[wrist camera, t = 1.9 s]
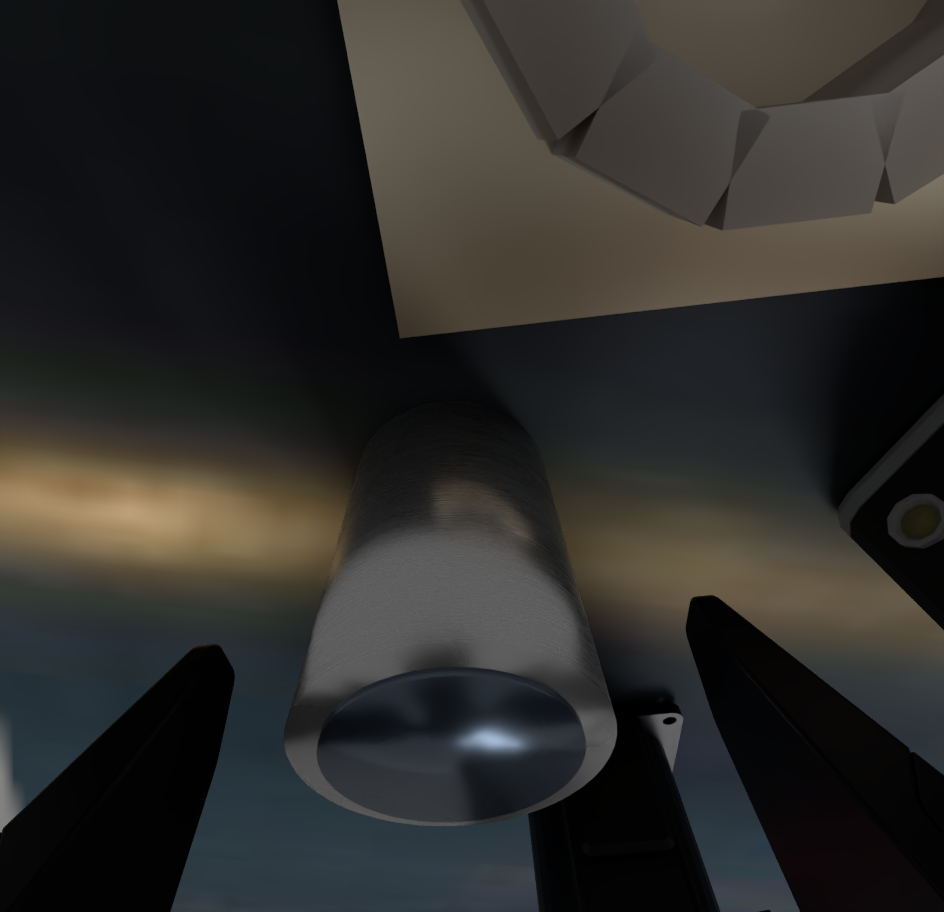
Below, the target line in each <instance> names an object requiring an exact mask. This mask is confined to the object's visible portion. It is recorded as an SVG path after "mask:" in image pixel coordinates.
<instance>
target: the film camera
mask: <svg viewBox="0 0 944 912" xmlns="http://www.w3.org/2000/svg"><path fill="white" fill-rule="evenodd" d="M839 521H840V526H841V528H842V529H843V530H844V531H845V532H846V533H847V534H848V535H849V536H850V537H851V538H852V539H853V540H854V541H855V542H856V543H857V544H858V545H859V546H860V547H861V548H862V549H863V550H864V551H865V552H866V553H867V554H868V555H869V556H870V557H871V558H872V559H873V560H874V561H875V562H876V563H877V564H878V565H879V566H880V567H881V568H882V569H883V570H884V571H885V572H886V573H887V574H888V575H889V576H890V577H891V578H892V579H893V580H894V581H895V582H896V583H897V584H898V585H899V586H900V587H901V588H902V589H903V590H904V591H905V592H906V593H907V594H908V595H909V596H910V597H911V598H912V599H913V600H914V601H915V602H916V603H917V604H918V605H919V606H920V607H921V608H922V609H923V610H924V611H925V612H926V613H927V614H928V615H929V616H930V617H931V618H932V619H933V620H934V621H935V622H936V623H937V624H938V625H939V626H940V627H941V628H942V629H943V630H944V394H943V395H942V396H941V397H940V398H939V399H938V400H937V401H936V402H935V403H934V404H933V405H932V406H931V407H930V408H929V410H928V411H927V412H926V413H925V414H924V415H923V416H922V417H921V418H920V419H919V420H918V421H917V422H916V423H915V424H914V425H913V426H912V427H911V428H910V429H909V430H908V431H907V432H906V433H905V434H904V435H903V436H902V437H901V438H900V439H899V441H898V442H897V443H896V444H895V445H894V446H893V447H892V448H891V449H890V450H889V451H888V452H887V453H886V454H885V455H884V456H883V457H882V458H881V459H880V460H879V461H878V462H877V463H876V464H875V465H874V466H873V467H872V468H871V469H870V470H869V471H868V473H867V474H866V475H865V476H864V477H863V478H862V479H861V480H860V481H859V482H858V483H857V484H856V485H855V486H854V487H853V488H852V489H851V490H850V491H849V492H848V493H847V495H846V496H845V498H844V499H843V501H842V503H841V504H840V506H839Z"/></svg>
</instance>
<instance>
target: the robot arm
mask: <svg viewBox="0 0 944 912" xmlns="http://www.w3.org/2000/svg"><path fill="white" fill-rule="evenodd" d="M686 634H687V638H688V642H689V645H690V648H691V651H692V654H693V657H694V660H695V663H696V666H697V669H698V672H699V675H700V678H701V681H702V684H703V687H704V690H705V693H706V697H707V700H708V703H709V706H710V709H711V711H712V714H713V717H714V720H715V722H716V724H717V727H718V729H719V732H720V734H721V736H722V738H723V741H724V743H725V745H726V747H727V750H728V752H729V754H730V756H731V758H732V761H733V763H734V765H735V767H736V770H737V772H738V774H739V776H740V779H741V781H742V783H743V785H744V787H745V790H746V792H747V794H748V796H749V799H750V801H751V803H752V805H753V807H754V810H755V812H756V814H757V816H758V819H759V821H760V823H761V825H762V828H763V830H764V832H765V834H766V836H767V839H768V841H769V843H770V845H771V848H772V850H773V852H774V854H775V857H776V859H777V861H778V863H779V865H780V868H781V870H782V872H783V874H784V877H785V879H786V881H787V883H788V885H789V888H790V890H791V892H792V894H793V897H794V899H795V901H796V903H797V906H798V908H799V910H800V912H944V775H943V774H942V773H940V772H939V771H938V770H937V769H935V768H934V767H933V766H931V765H930V764H929V763H928V762H926V761H925V760H924V759H923V758H921V757H920V756H919V755H917V754H916V753H914V752H911V753H910V750H909V748H908V747H907V746H906V745H904V744H903V743H902V742H901V741H899V740H898V739H897V738H896V737H894V736H893V735H892V734H891V733H889V732H888V731H887V730H885V729H884V728H883V727H882V726H880V725H879V724H878V723H877V722H875V721H874V720H873V719H871V718H870V717H869V716H868V715H866V714H865V713H864V712H863V711H861V710H860V709H859V708H858V707H856V706H855V705H854V704H852V703H851V702H850V701H849V700H847V699H846V698H845V697H844V696H842V695H841V694H840V693H838V692H837V691H836V690H835V689H833V688H832V687H831V686H830V685H828V684H827V683H826V682H825V681H823V680H822V679H821V678H819V677H818V676H817V675H816V674H814V673H813V672H812V671H811V670H809V669H808V668H807V667H805V666H804V665H803V664H802V663H800V662H799V661H798V660H797V659H795V658H794V657H793V656H791V655H790V654H789V653H788V652H786V651H785V650H784V649H783V648H781V647H780V646H779V645H778V644H776V643H775V642H774V641H772V640H771V639H770V638H769V637H767V636H766V635H765V634H764V633H762V632H761V631H760V630H758V629H757V628H756V627H755V626H753V625H752V624H751V623H750V622H748V621H747V620H746V619H745V618H743V617H742V616H741V615H739V614H738V613H737V612H736V611H734V610H733V609H732V608H731V607H729V606H728V605H727V604H725V603H724V602H723V601H722V600H720V599H719V598H718V597H716V596H713V595H708V596H697V597H693V598H692V599H691V601H690V605H689V611H688V617H687V622H686ZM234 679H235V675H234V670H233V667H232V666H231V664H230V662H229V660H228V659H227V657H226V655H225V653H224V651H223V650H222V648H221V647H220V646H219V645H218V644H206V645H198V646H196V647H194V648H192V649H191V650H190V651H189V652H188V653H187V654H186V655H185V656H184V657H183V658H182V659H181V660H179V661H178V662H177V663H176V664H175V665H174V666H173V667H172V668H171V669H170V670H169V671H168V672H167V673H166V674H165V675H164V676H163V677H162V678H161V679H159V680H158V681H157V682H156V683H155V684H154V685H153V686H152V687H151V688H150V689H149V690H148V691H147V692H146V693H145V694H144V695H143V696H142V697H141V698H140V699H138V700H137V701H136V702H135V703H134V704H133V705H132V706H131V707H130V708H129V709H128V710H127V711H126V712H125V713H124V714H123V715H122V716H121V717H120V718H118V719H117V720H116V721H115V722H114V723H113V724H112V725H111V726H110V727H109V728H108V729H107V730H106V731H105V732H104V733H103V734H102V735H101V736H100V737H98V738H97V739H96V740H95V741H94V742H93V743H92V744H91V745H90V746H89V747H88V748H87V749H86V750H85V751H84V752H83V753H82V754H81V755H80V756H78V757H77V758H76V759H75V760H74V761H73V762H72V763H71V764H70V765H69V766H68V767H67V768H66V769H65V770H64V771H63V772H62V773H61V774H60V775H58V776H57V777H56V778H55V779H54V780H53V781H52V782H51V783H50V784H49V785H48V786H47V787H46V788H45V789H44V790H43V791H42V792H41V793H40V794H39V795H37V796H36V797H35V798H34V799H33V800H32V801H31V802H30V803H29V804H28V805H27V806H26V807H25V808H24V809H23V810H22V811H21V812H20V813H19V814H17V815H16V816H15V817H14V818H13V819H12V820H11V821H10V822H9V823H8V824H7V825H6V826H5V827H4V828H3V830H2V833H0V912H170V911H171V908H172V905H173V902H174V899H175V895H176V892H177V889H178V886H179V883H180V880H181V876H182V873H183V870H184V867H185V864H186V861H187V857H188V854H189V851H190V848H191V845H192V842H193V838H194V835H195V832H196V829H197V826H198V823H199V819H200V816H201V813H202V810H203V807H204V804H205V800H206V797H207V794H208V791H209V788H210V785H211V781H212V778H213V775H214V771H215V768H216V765H217V761H218V756H219V752H220V748H221V743H222V738H223V733H224V729H225V724H226V719H227V714H228V710H229V705H230V700H231V695H232V691H233V686H234ZM613 711H614V714H615V718H616V721H617V737H616V742H615V746H614V749H613V751H612V753H611V756H610V758H609V759H608V761H607V762H606V764H605V765H604V767H603V768H602V769H601V770H600V771H599V772H598V773H597V775H596V776H595V777H594V778H593V779H591V780H590V781H589V782H588V783H587V784H585V785H584V786H583V787H582V788H580V789H579V790H577V791H576V792H574V793H573V794H571V795H569V796H568V797H566V798H564V799H562V800H560V801H558V802H556V803H554V804H552V805H549V806H547V807H545V808H542V809H540V810H537V811H534V812H531V813H528V818H529V826H530V835H531V844H532V853H533V862H534V871H535V880H536V888H537V897H538V906H539V912H720V909H719V906H718V903H717V900H716V898H715V895H714V892H713V889H712V886H711V883H710V880H709V877H708V875H707V872H706V869H705V866H704V863H703V860H702V857H701V854H700V851H699V849H698V846H697V843H696V840H695V837H694V834H693V831H692V828H691V826H690V823H689V820H688V817H687V814H686V811H685V808H684V805H683V802H682V800H681V797H680V794H679V791H678V788H677V785H676V782H675V779H674V777H673V774H672V772H673V767H674V762H675V757H676V752H677V747H678V742H679V738H680V733H681V728H682V723H683V716H682V714H681V711H680V709H679V706H678V705H676V704H674V703H661V704H650V705H639V706H628V707H618V708H613ZM760 912H770V910H765V911H760Z"/></svg>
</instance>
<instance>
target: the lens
mask: <svg viewBox="0 0 944 912" xmlns="http://www.w3.org/2000/svg"><path fill="white" fill-rule="evenodd" d="M616 737H617V721H616V718H615V714H614V711H613V707H612V704H611V700H610V697H609V693H608V690H607V686H606V683H605V679H604V676H603V672H602V669H601V665H600V662H599V658H598V655H597V651H596V648H595V644H594V641H593V637H592V634H591V630H590V626H589V623H588V619H587V616H586V612H585V609H584V605H583V602H582V598H581V595H580V591H579V588H578V584H577V581H576V577H575V574H574V570H573V567H572V563H571V560H570V556H569V553H568V549H567V546H566V542H565V539H564V535H563V532H562V528H561V525H560V521H559V518H558V514H557V511H556V507H555V504H554V500H553V497H552V493H551V490H550V486H549V483H548V479H547V476H546V472H545V469H544V465H543V462H542V458H541V455H540V453H539V450H538V448H537V446H536V444H535V443H534V441H533V440H532V438H531V437H530V435H529V434H528V433H527V432H526V431H525V430H524V429H523V428H522V427H521V426H520V425H519V424H518V423H517V422H515V421H514V420H513V419H511V418H510V417H508V416H507V415H505V414H503V413H502V412H499V411H497V410H495V409H493V408H491V407H487V406H484V405H481V404H477V403H472V402H467V401H454V400H449V401H436V402H430V403H425V404H422V405H418V406H415V407H412V408H410V409H408V410H405V411H403V412H401V413H399V414H398V415H396V416H394V417H393V418H391V419H390V420H388V421H387V422H386V423H385V424H383V425H382V426H381V427H380V428H379V429H378V430H377V431H376V432H375V433H374V434H373V436H372V437H371V439H370V440H369V442H368V443H367V445H366V447H365V449H364V451H363V453H362V455H361V459H360V462H359V466H358V469H357V473H356V476H355V480H354V483H353V487H352V490H351V494H350V498H349V501H348V505H347V508H346V512H345V515H344V519H343V523H342V526H341V530H340V533H339V537H338V540H337V544H336V548H335V551H334V555H333V558H332V562H331V565H330V569H329V572H328V576H327V580H326V583H325V587H324V590H323V594H322V597H321V601H320V605H319V608H318V612H317V615H316V619H315V622H314V626H313V630H312V633H311V637H310V640H309V644H308V647H307V651H306V654H305V658H304V662H303V665H302V669H301V672H300V676H299V679H298V683H297V687H296V690H295V694H294V697H293V701H292V704H291V708H290V712H289V715H288V719H287V722H286V726H285V732H284V744H285V750H286V754H287V756H288V759H289V761H290V763H291V765H292V767H293V768H294V770H295V771H296V773H297V774H298V775H299V776H300V778H301V779H302V780H303V781H304V782H305V783H306V784H307V785H308V786H310V787H311V788H312V789H314V790H315V791H316V792H317V793H319V794H320V795H322V796H324V797H325V798H327V799H329V800H330V801H332V802H334V803H336V804H338V805H340V806H342V807H345V808H347V809H349V810H352V811H355V812H358V813H360V814H363V815H367V816H370V817H374V818H378V819H382V820H387V821H392V822H397V823H405V824H413V825H427V826H460V825H473V824H482V823H489V822H495V821H500V820H505V819H509V818H513V817H517V816H521V815H525V814H528V813H531V812H534V811H537V810H540V809H542V808H545V807H547V806H549V805H552V804H554V803H556V802H558V801H560V800H562V799H564V798H566V797H568V796H569V795H571V794H573V793H574V792H576V791H577V790H579V789H580V788H582V787H583V786H584V785H585V784H587V783H588V782H589V781H590V780H591V779H593V778H594V777H595V776H596V775H597V773H598V772H599V771H600V770H601V769H602V768H603V767H604V765H605V764H606V762H607V761H608V759H609V758H610V756H611V753H612V751H613V749H614V746H615V742H616Z"/></svg>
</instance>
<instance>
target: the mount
mask: <svg viewBox="0 0 944 912" xmlns="http://www.w3.org/2000/svg"><path fill="white" fill-rule="evenodd" d="M337 2H338V7H339V12H340V18H341V23H342V28H343V34H344V39H345V45H346V50H347V55H348V61H349V66H350V72H351V77H352V82H353V88H354V93H355V98H356V104H357V109H358V115H359V120H360V125H361V131H362V136H363V142H364V147H365V152H366V158H367V163H368V168H369V174H370V179H371V185H372V190H373V195H374V201H375V206H376V212H377V217H378V222H379V228H380V233H381V239H382V244H383V249H384V255H385V260H386V265H387V271H388V276H389V282H390V287H391V292H392V298H393V303H394V309H395V314H396V319H397V325H398V330H399V335H400V338H407V337H416V336H425V335H434V334H443V333H452V332H460V331H469V330H478V329H487V328H496V327H505V326H513V325H522V324H531V323H540V322H549V321H558V320H566V319H575V318H584V317H593V316H602V315H611V314H619V313H628V312H637V311H646V310H655V309H664V308H672V307H681V306H690V305H699V304H708V303H717V302H725V301H734V300H743V299H752V298H761V297H770V296H778V295H787V294H796V293H805V292H814V291H823V290H831V289H840V288H849V287H858V286H867V285H876V284H884V283H893V282H902V281H911V280H920V279H929V278H937V277H944V0H337Z"/></svg>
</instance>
